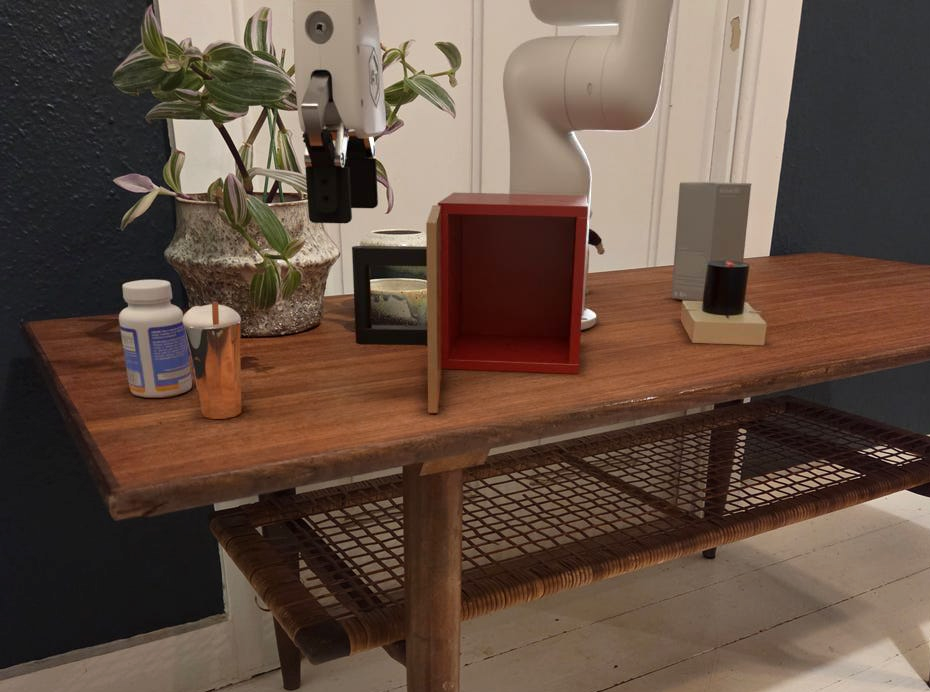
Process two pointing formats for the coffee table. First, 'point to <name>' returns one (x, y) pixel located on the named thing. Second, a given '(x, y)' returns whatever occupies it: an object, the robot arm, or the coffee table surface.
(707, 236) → the cosmetic box
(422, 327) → the door
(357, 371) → the coffee table surface
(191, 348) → the milkshake
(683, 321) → the panel
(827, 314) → the coffee table surface
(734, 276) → the knob
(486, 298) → the red cabinet
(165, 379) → the pill bottle
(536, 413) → the coffee table surface
